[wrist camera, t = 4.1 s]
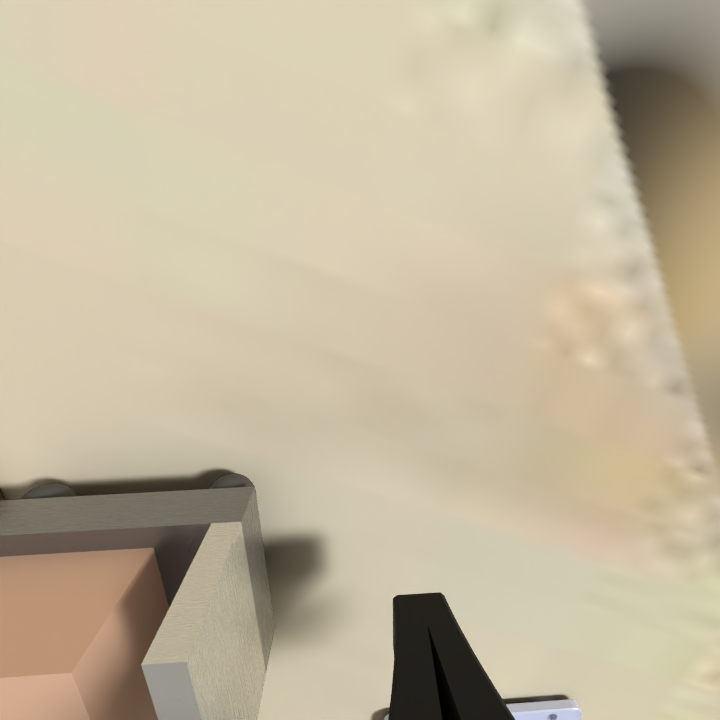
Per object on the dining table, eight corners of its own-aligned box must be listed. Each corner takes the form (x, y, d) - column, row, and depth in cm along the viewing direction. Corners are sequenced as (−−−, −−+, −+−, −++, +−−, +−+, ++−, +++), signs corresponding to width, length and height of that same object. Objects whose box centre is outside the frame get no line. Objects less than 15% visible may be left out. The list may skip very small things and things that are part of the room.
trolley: (263, 462, 12) (186, 661, 6) (281, 592, 14) (233, 843, 8) (29, 475, 12) (-284, 694, 6) (77, 605, 14) (-128, 874, 8)
